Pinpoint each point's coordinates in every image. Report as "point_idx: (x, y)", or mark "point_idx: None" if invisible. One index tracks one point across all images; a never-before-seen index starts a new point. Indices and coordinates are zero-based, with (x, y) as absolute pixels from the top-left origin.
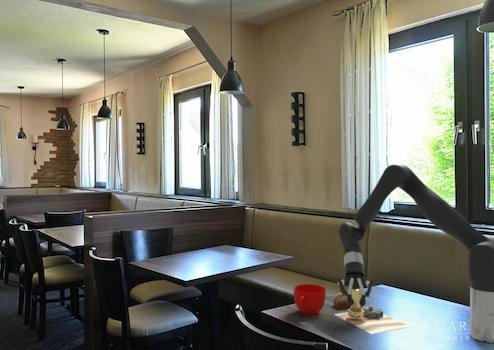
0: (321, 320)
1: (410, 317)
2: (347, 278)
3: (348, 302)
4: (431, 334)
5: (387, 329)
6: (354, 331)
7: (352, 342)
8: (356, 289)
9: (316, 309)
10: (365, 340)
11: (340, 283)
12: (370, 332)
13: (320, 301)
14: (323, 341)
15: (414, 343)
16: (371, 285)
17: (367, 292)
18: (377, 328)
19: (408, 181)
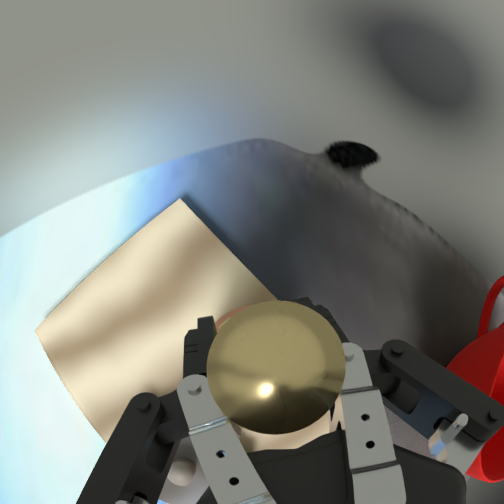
0: (404, 336)
1: (54, 473)
2: (436, 498)
3: (320, 306)
4: (5, 312)
5: (111, 270)
6: (252, 257)
7: (248, 157)
8: (276, 365)
9: (447, 367)
10: (205, 184)
11: (469, 397)
12: (182, 212)
13: (461, 374)
14: (335, 145)
15: (58, 218)
16: (95, 477)
17: (152, 403)
18: (150, 268)
19: None
